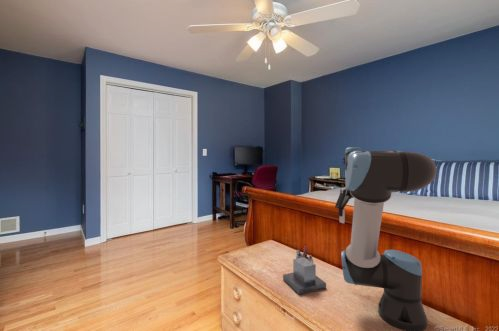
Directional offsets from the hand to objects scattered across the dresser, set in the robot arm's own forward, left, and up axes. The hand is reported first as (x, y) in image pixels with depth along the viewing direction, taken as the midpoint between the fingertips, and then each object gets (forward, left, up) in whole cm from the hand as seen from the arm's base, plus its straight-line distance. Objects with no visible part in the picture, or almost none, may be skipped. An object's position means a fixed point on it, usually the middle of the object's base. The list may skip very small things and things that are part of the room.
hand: (352, 221), depth 121 cm
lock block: (+1, +28, -24) cm, 37 cm away
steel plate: (+1, +28, -27) cm, 39 cm away
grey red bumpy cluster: (+18, +17, -27) cm, 36 cm away
